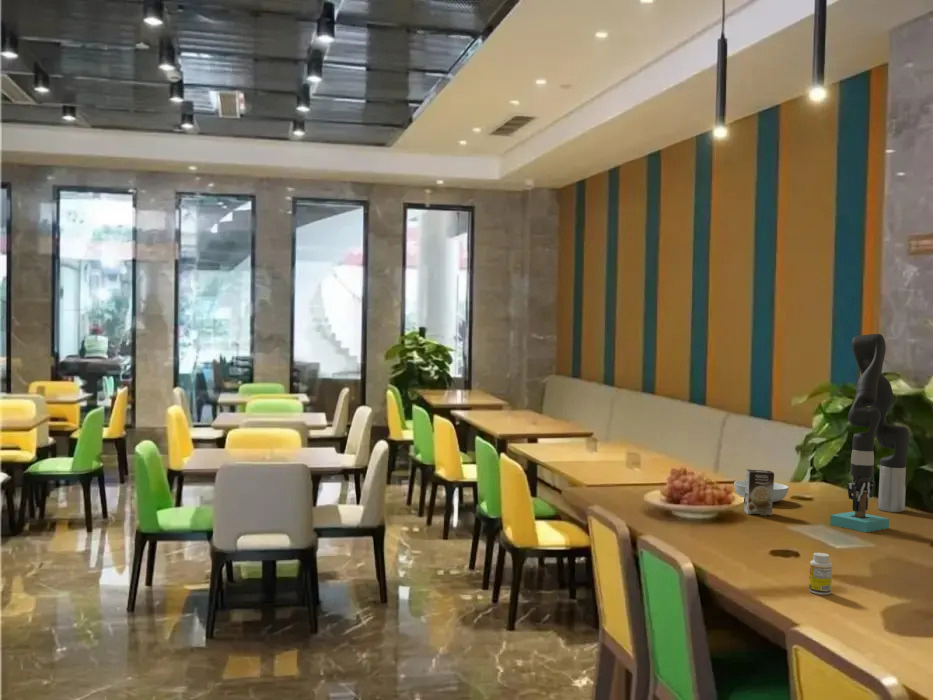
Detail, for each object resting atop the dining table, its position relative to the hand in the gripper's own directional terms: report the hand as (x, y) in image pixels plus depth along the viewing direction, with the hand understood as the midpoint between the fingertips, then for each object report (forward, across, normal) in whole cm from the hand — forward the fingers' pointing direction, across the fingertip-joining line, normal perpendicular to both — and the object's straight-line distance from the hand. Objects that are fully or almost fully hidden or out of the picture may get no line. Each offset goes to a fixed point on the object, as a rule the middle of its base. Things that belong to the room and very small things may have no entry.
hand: (860, 510), depth 336 cm
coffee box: (+6, +15, -32) cm, 36 cm away
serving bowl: (+6, -7, -48) cm, 49 cm away
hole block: (+6, 0, 0) cm, 6 cm away
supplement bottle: (+6, +87, +44) cm, 98 cm away
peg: (+6, 0, 0) cm, 6 cm away
